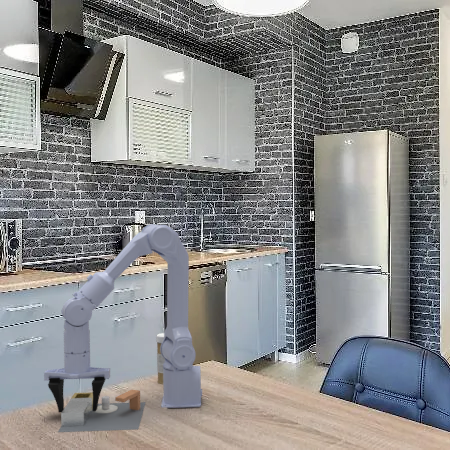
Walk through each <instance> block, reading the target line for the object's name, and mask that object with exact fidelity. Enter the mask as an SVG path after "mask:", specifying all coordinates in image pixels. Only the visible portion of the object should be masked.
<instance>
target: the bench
mask: <svg viewBox="0 0 450 450" xmlns="http://www.w3.org/2000/svg"><path fill="white" fill-rule="evenodd" d="M145 406H146V401H143V402H142V401H140V409H139V410H134V409H130V403H129V402H113V403H111V402H110V396H108V395H104V396H102V397H101V403H98V408H97V410H96V411H93V409H92V411H91V413H90V415H89V417H88V419H87V421H86V423H85V425H84V426H64V427H61V426H60V428H59V429H58V431H57V433H73V432H74V433H76V432H79V433H80V432H102V431H105V432H106V431H107V432H109V431H130V430H131V431H134V430H140V429H139V428H140V425H141V421H142V418H143V413H144V409H145Z"/></svg>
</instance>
